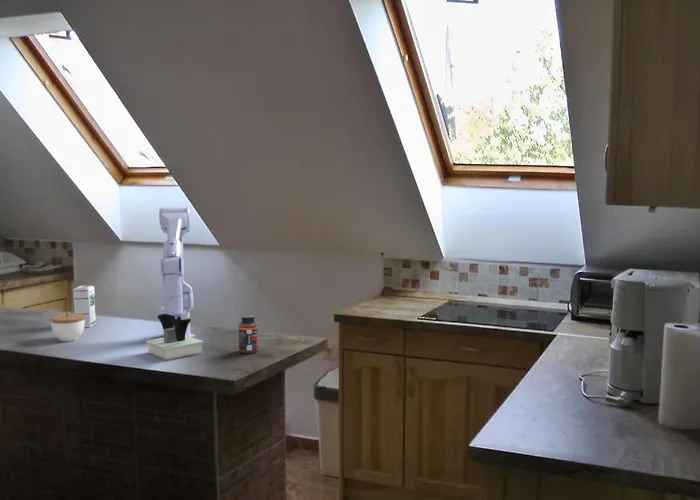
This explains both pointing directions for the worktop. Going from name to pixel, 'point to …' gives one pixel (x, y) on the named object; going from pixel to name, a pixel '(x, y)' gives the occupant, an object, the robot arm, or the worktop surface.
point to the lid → (173, 341)
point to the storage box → (175, 352)
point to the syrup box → (85, 304)
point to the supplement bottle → (248, 335)
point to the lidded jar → (68, 326)
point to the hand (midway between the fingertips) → (174, 338)
